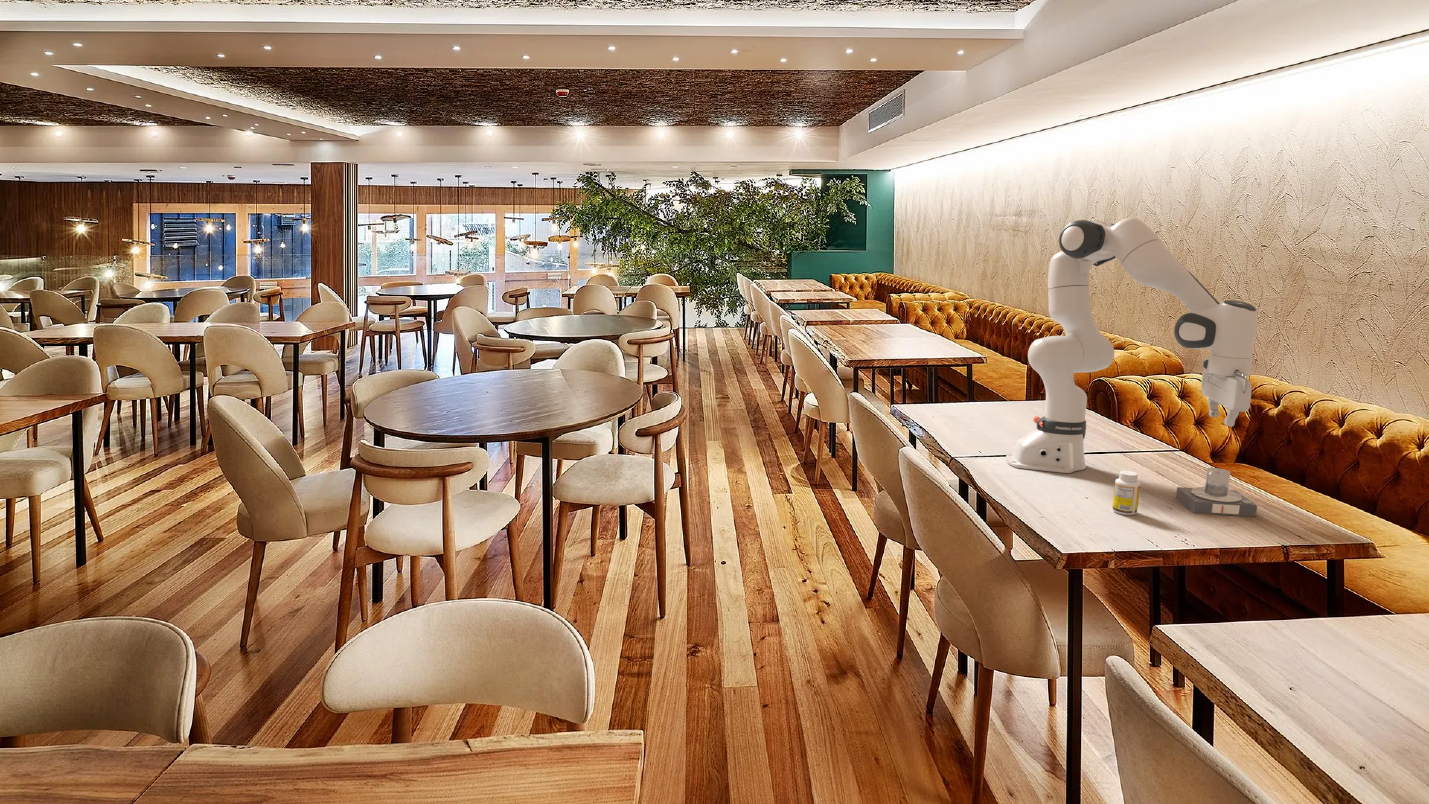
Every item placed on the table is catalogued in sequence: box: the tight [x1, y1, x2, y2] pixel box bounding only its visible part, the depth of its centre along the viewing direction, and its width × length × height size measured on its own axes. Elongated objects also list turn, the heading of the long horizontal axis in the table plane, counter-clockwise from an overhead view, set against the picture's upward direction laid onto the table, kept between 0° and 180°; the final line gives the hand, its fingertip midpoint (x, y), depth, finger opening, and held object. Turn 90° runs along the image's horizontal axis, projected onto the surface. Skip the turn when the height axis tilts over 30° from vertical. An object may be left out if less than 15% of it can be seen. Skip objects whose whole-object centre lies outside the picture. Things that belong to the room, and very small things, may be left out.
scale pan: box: [1191, 486, 1242, 503], centre depth 206 cm, size 11×11×1 cm
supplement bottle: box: [1112, 470, 1141, 516], centre depth 201 cm, size 6×6×10 cm
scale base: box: [1175, 486, 1258, 518], centre depth 206 cm, size 14×12×3 cm
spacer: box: [1204, 467, 1231, 497], centre depth 205 cm, size 5×5×6 cm
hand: (1220, 421), depth 204 cm, fingers open, 8 cm apart
